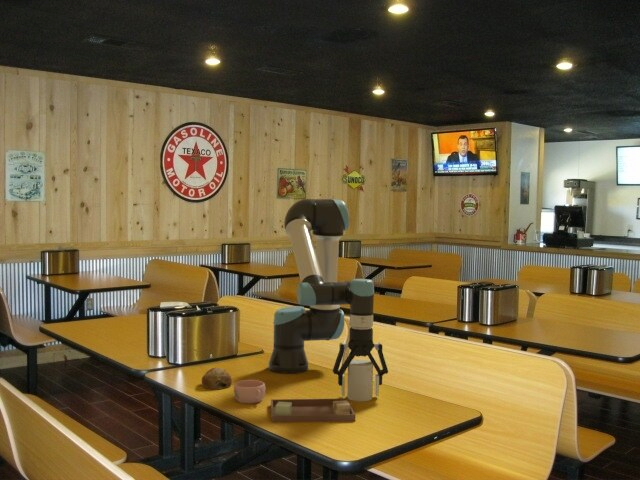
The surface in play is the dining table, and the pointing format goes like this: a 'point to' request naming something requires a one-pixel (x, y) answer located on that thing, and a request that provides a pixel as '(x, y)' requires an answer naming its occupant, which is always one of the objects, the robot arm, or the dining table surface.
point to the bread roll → (216, 379)
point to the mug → (249, 391)
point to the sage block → (284, 408)
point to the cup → (360, 380)
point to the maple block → (341, 407)
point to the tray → (311, 411)
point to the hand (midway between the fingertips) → (359, 395)
